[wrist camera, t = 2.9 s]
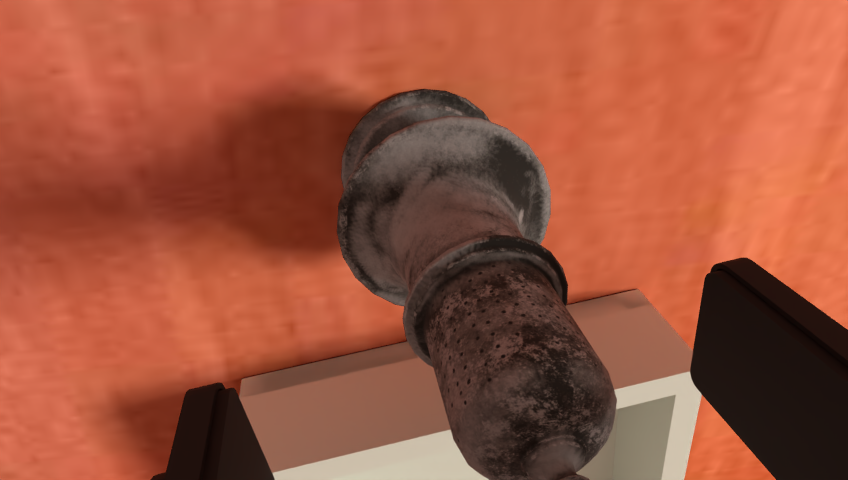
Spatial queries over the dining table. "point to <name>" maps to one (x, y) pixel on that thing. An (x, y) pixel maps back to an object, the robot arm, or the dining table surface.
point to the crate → (427, 421)
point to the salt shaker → (475, 282)
